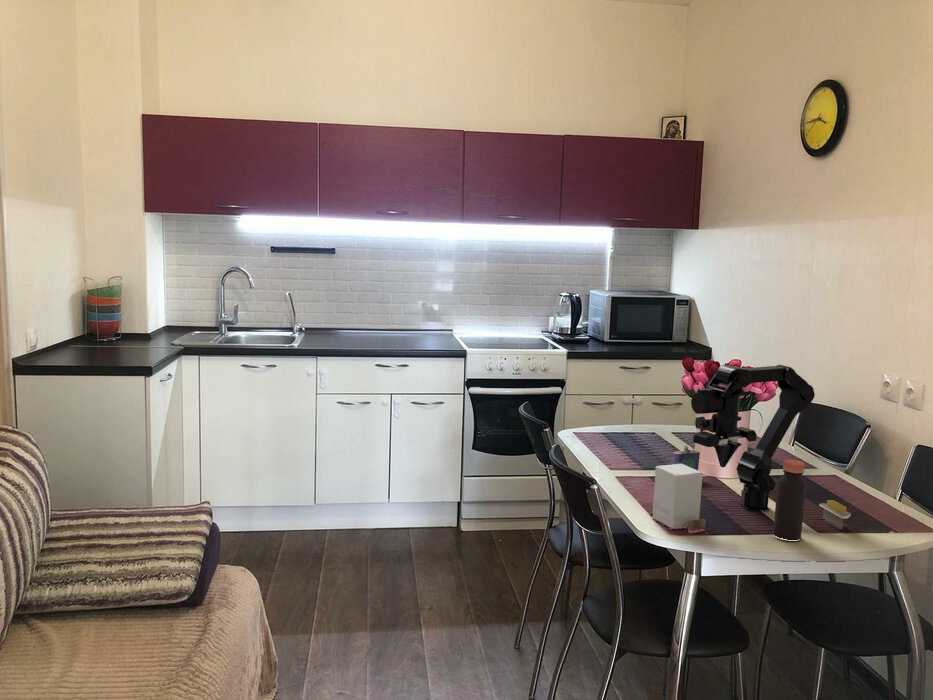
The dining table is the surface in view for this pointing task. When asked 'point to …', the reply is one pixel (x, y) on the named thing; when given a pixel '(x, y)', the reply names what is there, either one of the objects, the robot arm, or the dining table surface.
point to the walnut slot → (691, 523)
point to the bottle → (790, 501)
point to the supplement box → (677, 495)
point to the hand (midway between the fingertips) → (722, 466)
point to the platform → (834, 512)
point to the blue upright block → (687, 458)
